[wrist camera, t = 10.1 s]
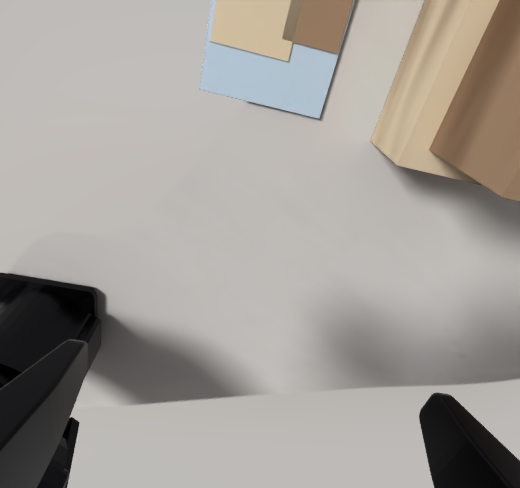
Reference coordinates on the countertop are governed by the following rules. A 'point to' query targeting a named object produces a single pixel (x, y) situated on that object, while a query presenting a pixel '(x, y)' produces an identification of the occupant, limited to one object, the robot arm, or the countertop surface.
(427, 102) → the base block
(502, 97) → the walnut block
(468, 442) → the robot arm
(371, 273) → the countertop surface
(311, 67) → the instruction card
